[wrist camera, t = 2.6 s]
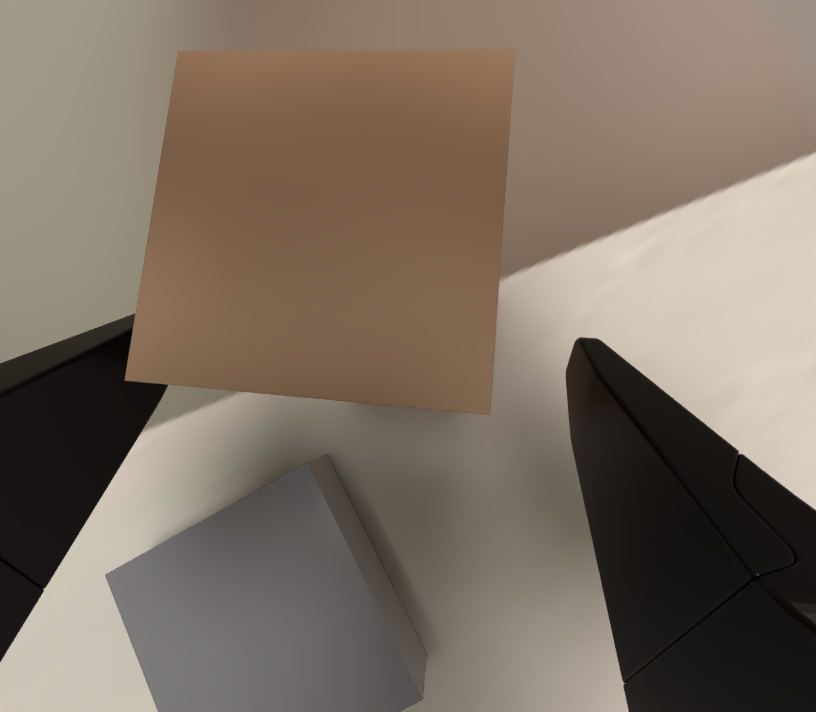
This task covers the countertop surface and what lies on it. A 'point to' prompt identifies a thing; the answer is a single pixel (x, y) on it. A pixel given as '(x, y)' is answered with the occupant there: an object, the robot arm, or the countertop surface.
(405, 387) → the walnut pillar
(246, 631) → the light grey plinth
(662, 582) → the robot arm
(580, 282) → the countertop surface
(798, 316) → the countertop surface
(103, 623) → the countertop surface
